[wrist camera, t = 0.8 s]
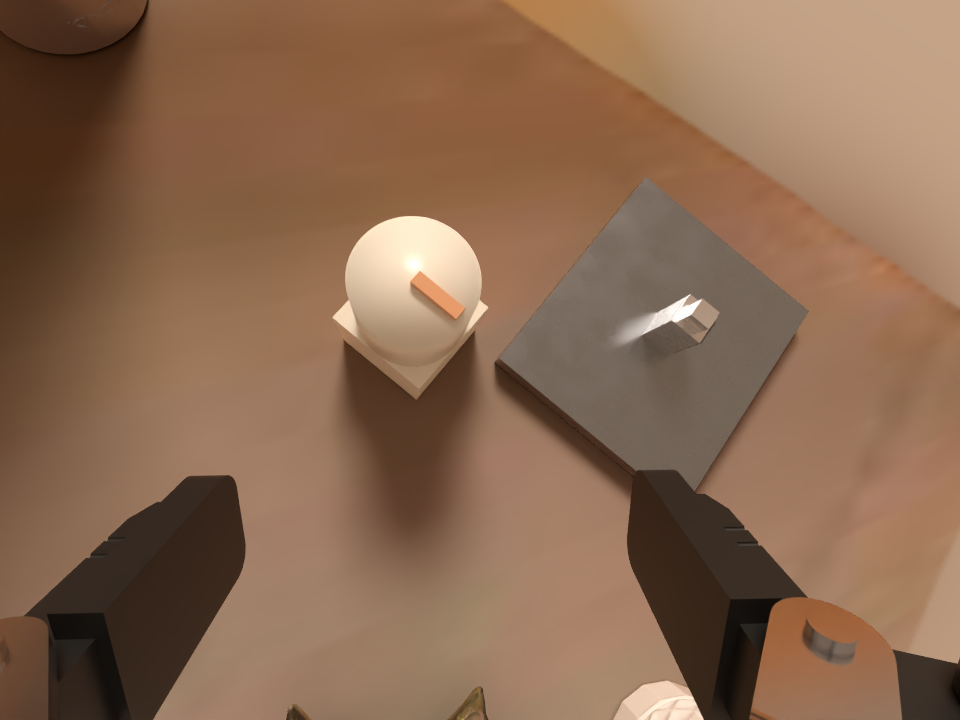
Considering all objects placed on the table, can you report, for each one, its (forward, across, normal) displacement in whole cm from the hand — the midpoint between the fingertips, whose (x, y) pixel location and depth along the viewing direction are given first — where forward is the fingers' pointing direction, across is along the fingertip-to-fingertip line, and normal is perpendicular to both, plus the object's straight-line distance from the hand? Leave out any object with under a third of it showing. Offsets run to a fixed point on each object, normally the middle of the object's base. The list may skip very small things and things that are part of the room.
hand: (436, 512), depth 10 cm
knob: (+21, +3, +2) cm, 21 cm away
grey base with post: (+23, -13, +2) cm, 26 cm away
